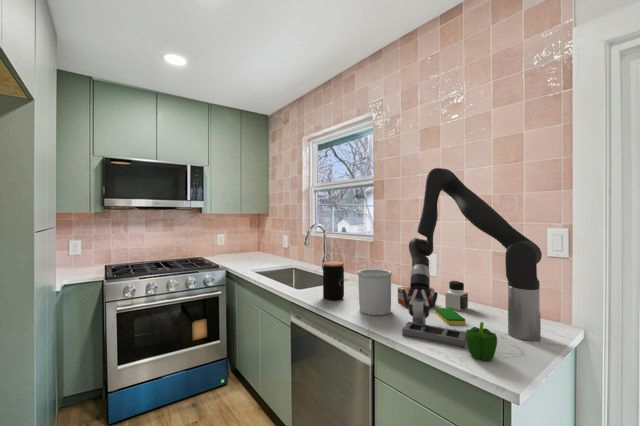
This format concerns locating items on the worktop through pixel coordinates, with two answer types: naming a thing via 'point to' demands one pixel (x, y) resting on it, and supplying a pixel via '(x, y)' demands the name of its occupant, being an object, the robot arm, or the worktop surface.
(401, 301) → the medicine box
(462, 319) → the dish sponge
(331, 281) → the coffee jar
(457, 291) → the medicine bottle
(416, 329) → the peg hole block
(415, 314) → the steel peg
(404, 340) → the worktop surface
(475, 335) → the bell pepper
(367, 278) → the utensil holder
